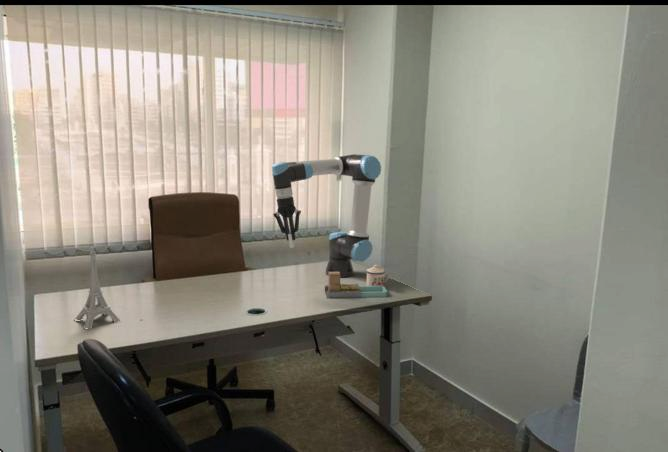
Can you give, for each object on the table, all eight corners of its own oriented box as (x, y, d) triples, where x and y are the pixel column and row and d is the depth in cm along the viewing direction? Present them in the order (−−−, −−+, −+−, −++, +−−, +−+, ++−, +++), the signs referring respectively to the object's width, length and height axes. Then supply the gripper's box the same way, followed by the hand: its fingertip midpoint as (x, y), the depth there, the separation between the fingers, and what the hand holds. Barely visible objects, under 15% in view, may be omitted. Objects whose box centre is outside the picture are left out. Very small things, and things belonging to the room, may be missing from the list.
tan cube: (339, 292, 235) (340, 284, 234) (348, 292, 235) (348, 284, 234) (340, 295, 231) (341, 286, 230) (349, 294, 231) (349, 286, 231)
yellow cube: (349, 292, 235) (349, 284, 235) (357, 292, 236) (358, 284, 235) (350, 294, 231) (350, 286, 231) (359, 294, 232) (359, 286, 231)
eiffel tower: (73, 320, 197) (67, 246, 192) (108, 312, 206) (103, 242, 201) (85, 330, 188) (79, 252, 182) (121, 321, 197) (116, 247, 192)
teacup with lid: (372, 291, 240) (372, 268, 238) (362, 286, 248) (363, 263, 246) (392, 288, 246) (393, 265, 244) (382, 283, 254) (383, 261, 252)
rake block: (328, 292, 235) (328, 271, 233) (338, 292, 235) (339, 271, 233) (329, 295, 230) (329, 274, 228) (340, 295, 230) (340, 274, 229)
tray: (357, 292, 239) (357, 286, 238) (383, 291, 240) (383, 285, 240) (361, 298, 229) (361, 292, 228) (387, 298, 230) (388, 292, 230)
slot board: (324, 292, 238) (324, 285, 237) (357, 291, 240) (357, 284, 239) (326, 300, 226) (326, 292, 226) (361, 299, 228) (361, 292, 227)
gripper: (268, 199, 224) (276, 250, 228) (296, 197, 220) (303, 248, 225) (273, 197, 231) (281, 245, 235) (300, 194, 228) (308, 243, 232)
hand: (292, 247), depth 230 cm, fingers closed
